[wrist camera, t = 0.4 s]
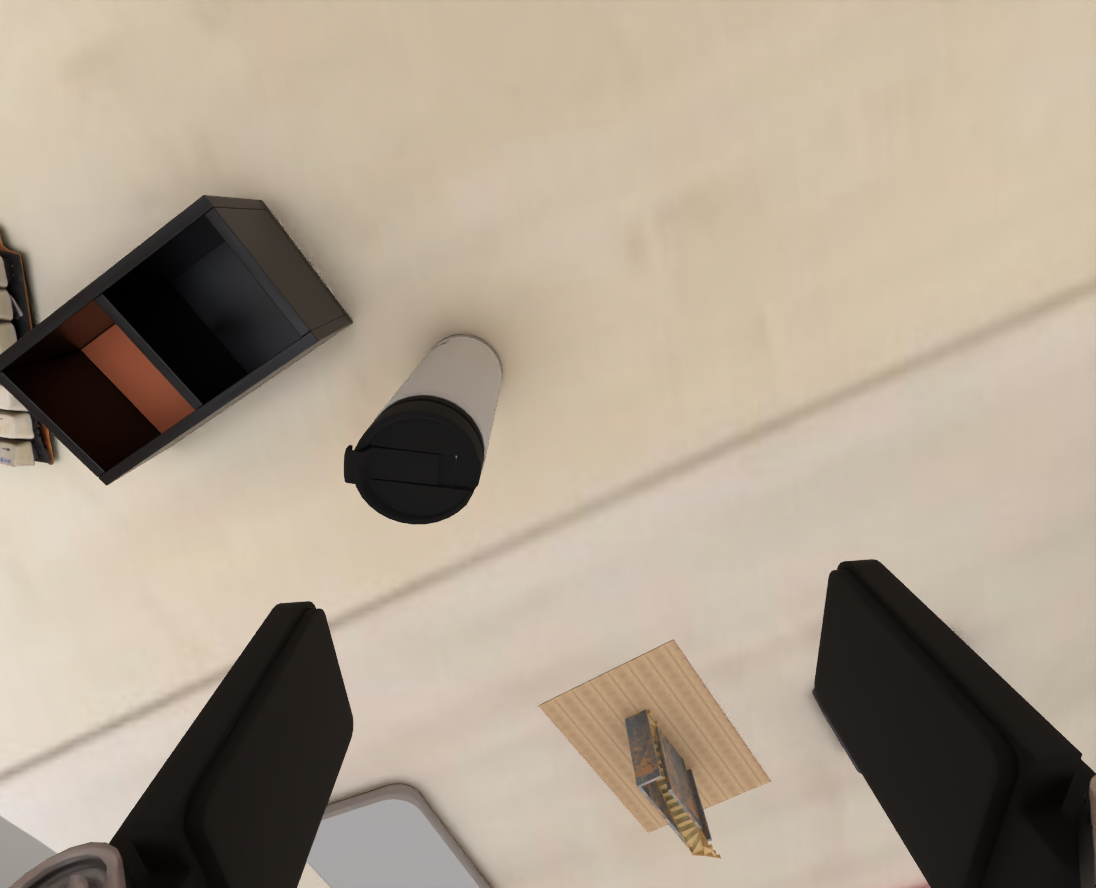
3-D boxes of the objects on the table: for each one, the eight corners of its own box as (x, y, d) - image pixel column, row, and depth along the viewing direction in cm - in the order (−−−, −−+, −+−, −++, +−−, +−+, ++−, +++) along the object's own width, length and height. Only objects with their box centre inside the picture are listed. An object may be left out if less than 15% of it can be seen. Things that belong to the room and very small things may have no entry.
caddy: (71, 344, 43) (-18, 367, 36) (261, 199, 40) (203, 194, 33) (170, 447, 47) (106, 486, 40) (353, 322, 43) (318, 341, 36)
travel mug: (425, 327, 43) (342, 404, 25) (507, 340, 44) (487, 425, 25) (419, 401, 46) (339, 523, 27) (497, 413, 46) (472, 540, 28)
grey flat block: (396, 931, 73) (391, 952, 71) (288, 813, 64) (280, 833, 62) (505, 899, 71) (505, 920, 69) (410, 773, 62) (406, 792, 60)
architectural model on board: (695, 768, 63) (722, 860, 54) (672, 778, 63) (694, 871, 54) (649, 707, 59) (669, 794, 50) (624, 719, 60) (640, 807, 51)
